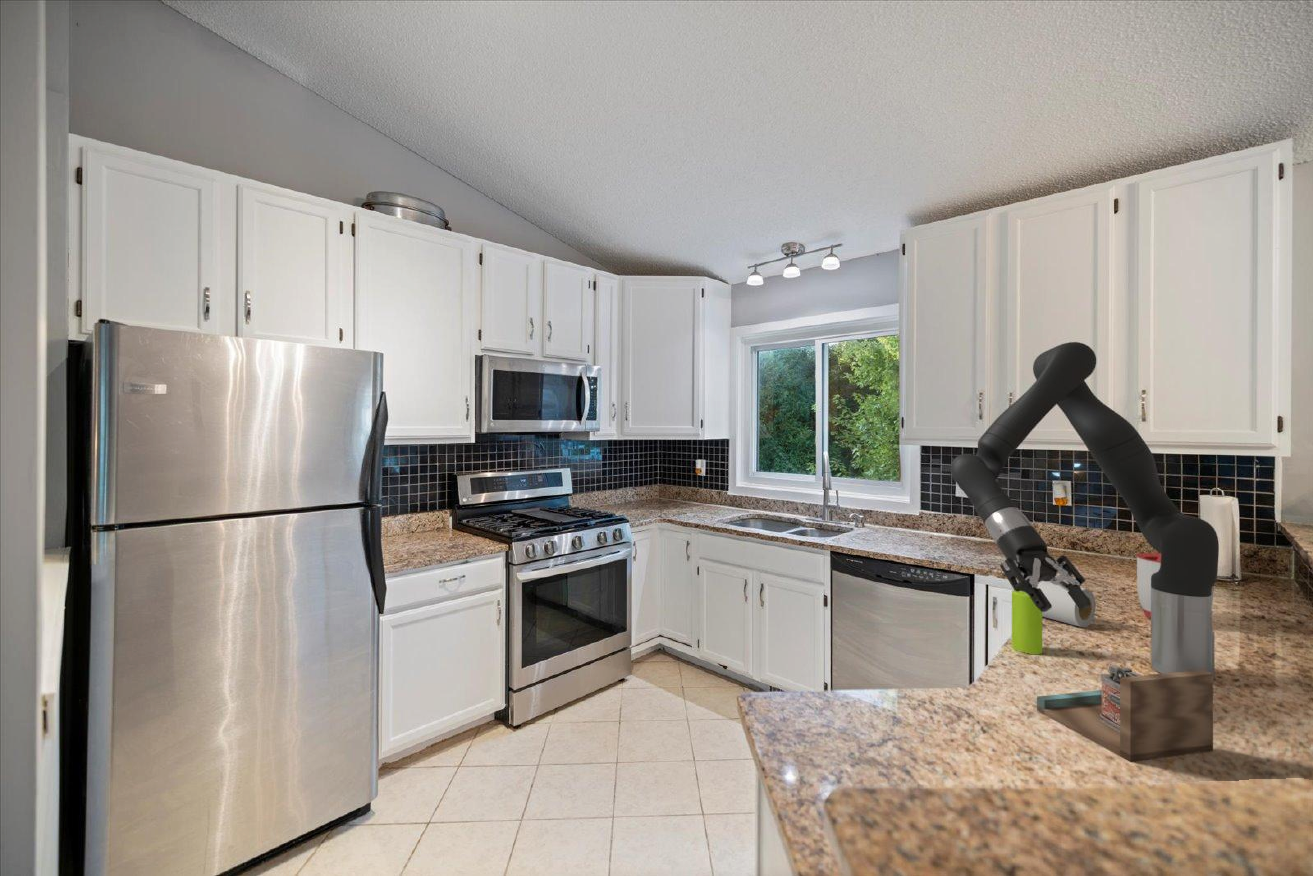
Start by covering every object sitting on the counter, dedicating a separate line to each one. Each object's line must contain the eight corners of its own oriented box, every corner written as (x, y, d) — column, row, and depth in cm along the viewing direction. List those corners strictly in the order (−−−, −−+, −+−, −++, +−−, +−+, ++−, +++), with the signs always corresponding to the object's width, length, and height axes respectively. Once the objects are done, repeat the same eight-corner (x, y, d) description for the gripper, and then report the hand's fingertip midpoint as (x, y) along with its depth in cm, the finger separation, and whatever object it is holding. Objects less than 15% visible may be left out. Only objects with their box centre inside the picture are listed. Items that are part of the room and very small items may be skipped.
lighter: (1094, 718, 93) (1094, 659, 93) (1111, 717, 94) (1111, 658, 94) (1142, 744, 85) (1142, 680, 85) (1161, 742, 86) (1161, 678, 86)
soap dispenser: (1052, 656, 124) (1052, 567, 124) (1018, 653, 125) (1018, 565, 125) (1039, 646, 129) (1039, 561, 129) (1007, 644, 131) (1007, 560, 131)
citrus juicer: (1153, 628, 143) (1153, 551, 143) (1125, 609, 159) (1125, 540, 159) (1232, 636, 137) (1232, 556, 137) (1195, 616, 153) (1195, 544, 154)
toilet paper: (1095, 624, 146) (1095, 587, 146) (1074, 630, 141) (1074, 591, 141) (1054, 614, 155) (1054, 578, 155) (1033, 618, 150) (1033, 582, 150)
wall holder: (1109, 702, 101) (1109, 637, 101) (1213, 750, 86) (1213, 673, 86) (1036, 710, 98) (1037, 643, 98) (1130, 761, 82) (1130, 681, 82)
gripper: (995, 525, 107) (1047, 600, 96) (1055, 523, 110) (1113, 596, 99) (974, 546, 113) (1021, 620, 101) (1032, 544, 116) (1084, 616, 104)
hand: (1066, 608), depth 100 cm, fingers open, 8 cm apart
